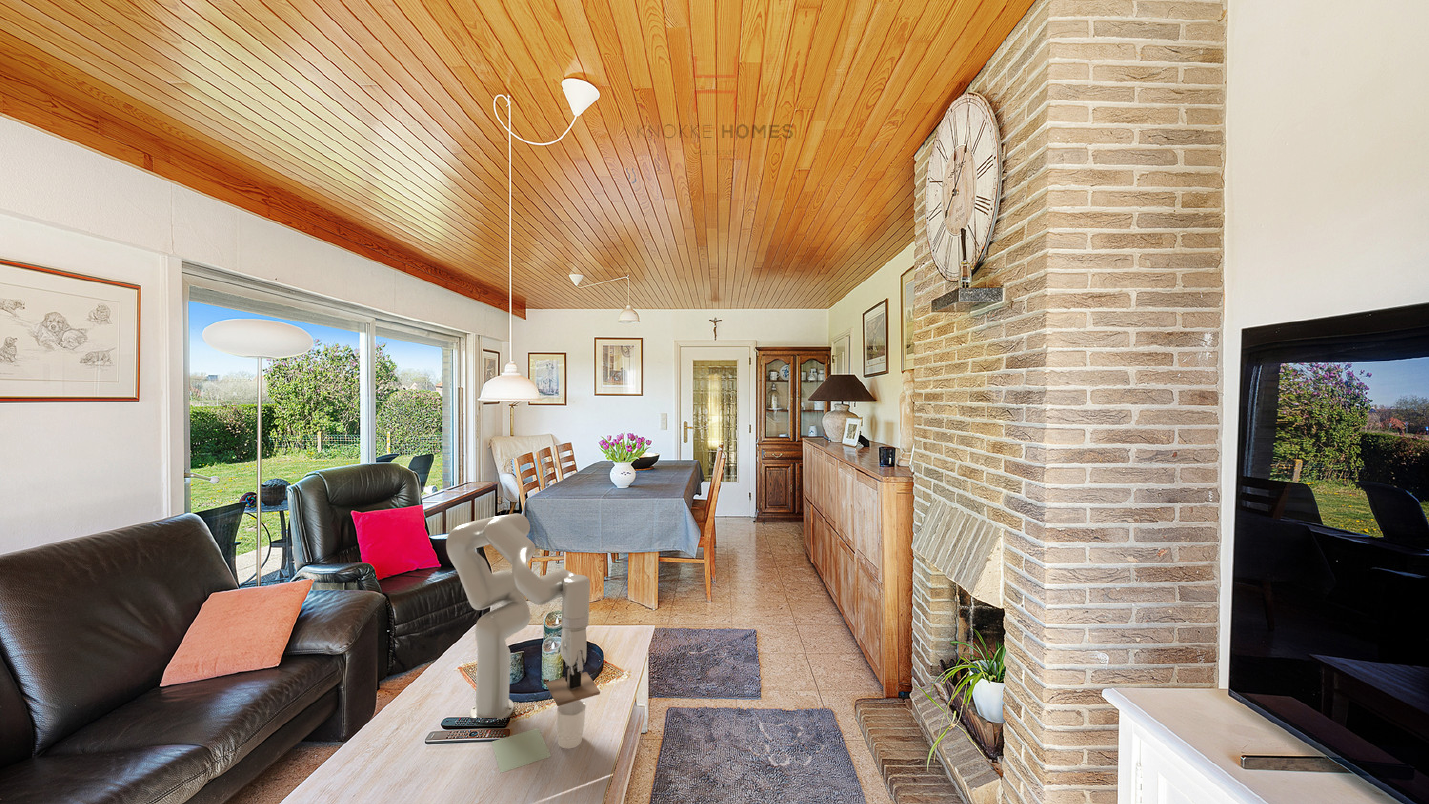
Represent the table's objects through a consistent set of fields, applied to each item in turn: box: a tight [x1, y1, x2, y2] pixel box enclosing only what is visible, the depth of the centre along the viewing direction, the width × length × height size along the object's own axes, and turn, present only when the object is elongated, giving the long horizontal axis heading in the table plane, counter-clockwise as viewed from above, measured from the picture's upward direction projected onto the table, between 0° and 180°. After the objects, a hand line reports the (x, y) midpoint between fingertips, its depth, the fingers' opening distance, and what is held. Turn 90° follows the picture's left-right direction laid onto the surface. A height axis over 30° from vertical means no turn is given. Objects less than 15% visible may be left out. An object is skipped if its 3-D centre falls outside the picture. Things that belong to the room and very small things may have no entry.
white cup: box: [556, 700, 587, 749], centre depth 149 cm, size 8×8×10 cm
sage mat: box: [491, 727, 551, 774], centre depth 145 cm, size 14×13×1 cm
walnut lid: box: [545, 666, 601, 707], centre depth 149 cm, size 12×12×6 cm
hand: (573, 683), depth 149 cm, fingers closed on walnut lid, 3 cm apart
